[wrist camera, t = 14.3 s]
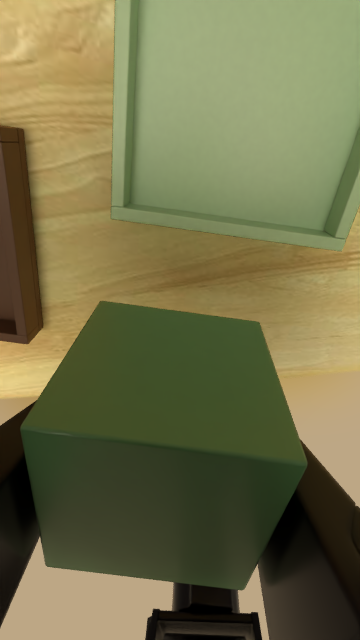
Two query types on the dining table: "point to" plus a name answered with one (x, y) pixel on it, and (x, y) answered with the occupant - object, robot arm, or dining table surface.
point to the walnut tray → (17, 244)
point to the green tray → (238, 117)
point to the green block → (162, 448)
